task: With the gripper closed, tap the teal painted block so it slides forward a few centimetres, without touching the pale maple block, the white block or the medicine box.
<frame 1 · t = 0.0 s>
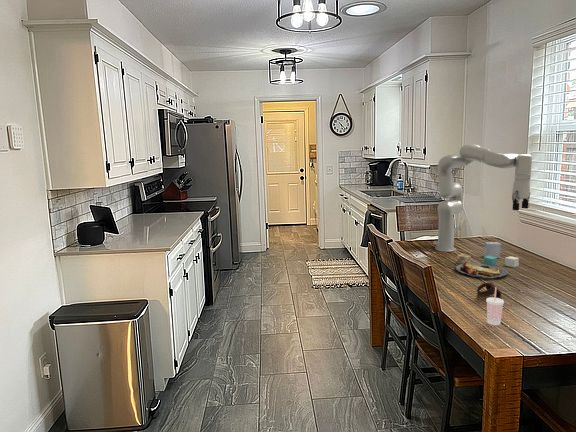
hand: (520, 209, 235), 31 cm above the table, tool pointing down, fingers open, 9 cm apart
food plate: (480, 273, 228), on the table
teal block: (489, 265, 241), on the table
medicine box: (491, 257, 257), on the table
maple block: (463, 263, 245), on the table
pottery mug: (489, 299, 191), on the table
white block: (511, 265, 239), on the table
beverage cup: (493, 323, 166), on the table
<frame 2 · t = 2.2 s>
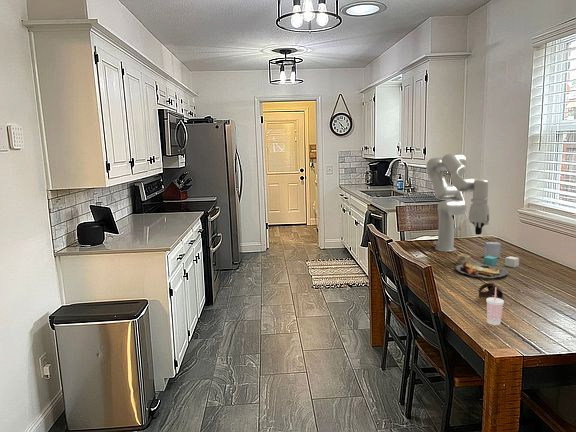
hand: (478, 234, 245), 16 cm above the table, tool pointing down, fingers closed
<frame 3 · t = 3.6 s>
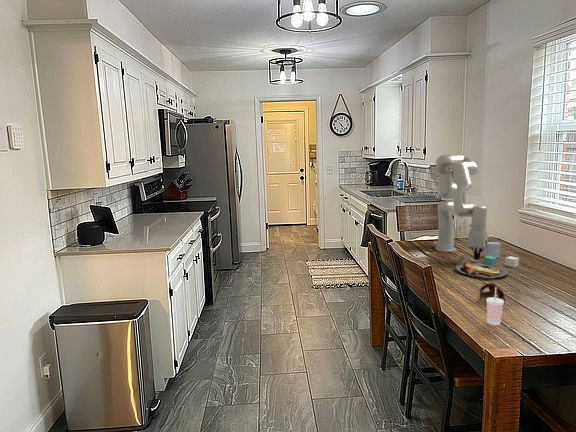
hand: (476, 259, 247), 2 cm above the table, tool pointing down, fingers closed
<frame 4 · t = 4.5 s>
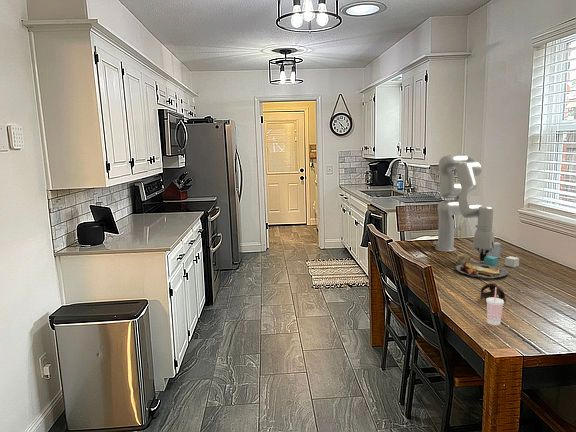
hand: (482, 260, 244), 2 cm above the table, tool pointing down, fingers closed
teal block: (490, 265, 241), on the table, touching gripper
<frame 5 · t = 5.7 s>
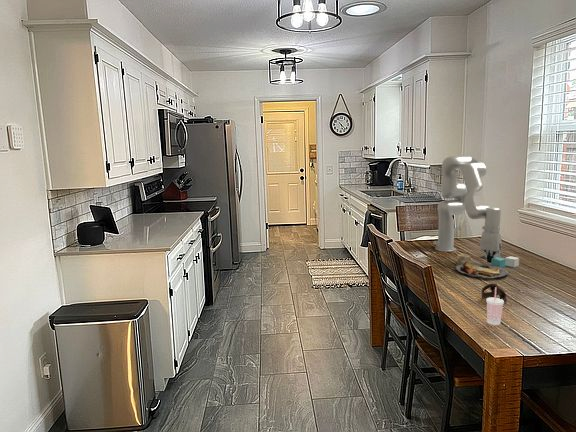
hand: (489, 262, 241), 2 cm above the table, tool pointing down, fingers closed
teal block: (497, 266, 237), on the table, touching gripper
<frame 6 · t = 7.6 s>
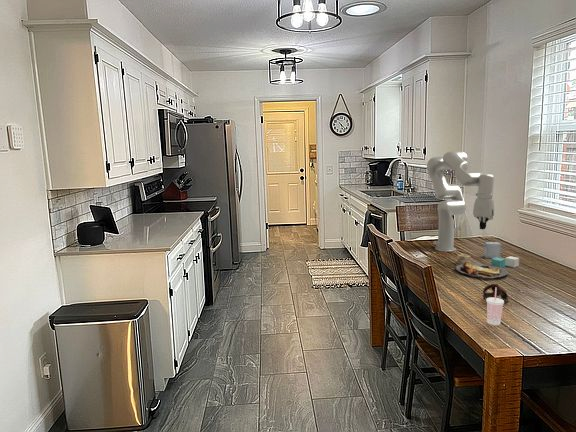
hand: (482, 228, 243), 19 cm above the table, tool pointing down, fingers closed
teal block: (497, 267, 237), on the table
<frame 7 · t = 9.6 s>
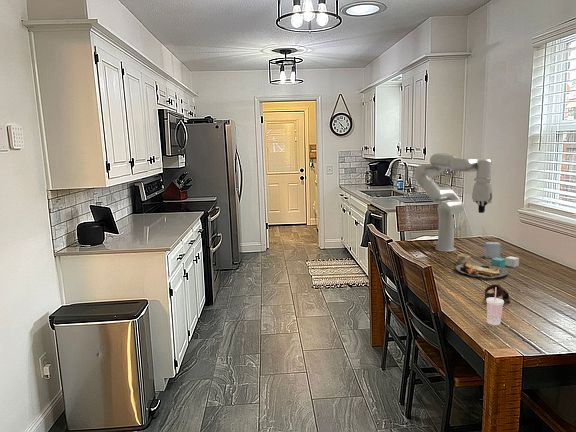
hand: (481, 212, 251), 27 cm above the table, tool pointing down, fingers closed
at the end: teal block moved 4.7 cm from its start; maple block moved 0.2 cm from its start; white block moved 0.2 cm from its start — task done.
